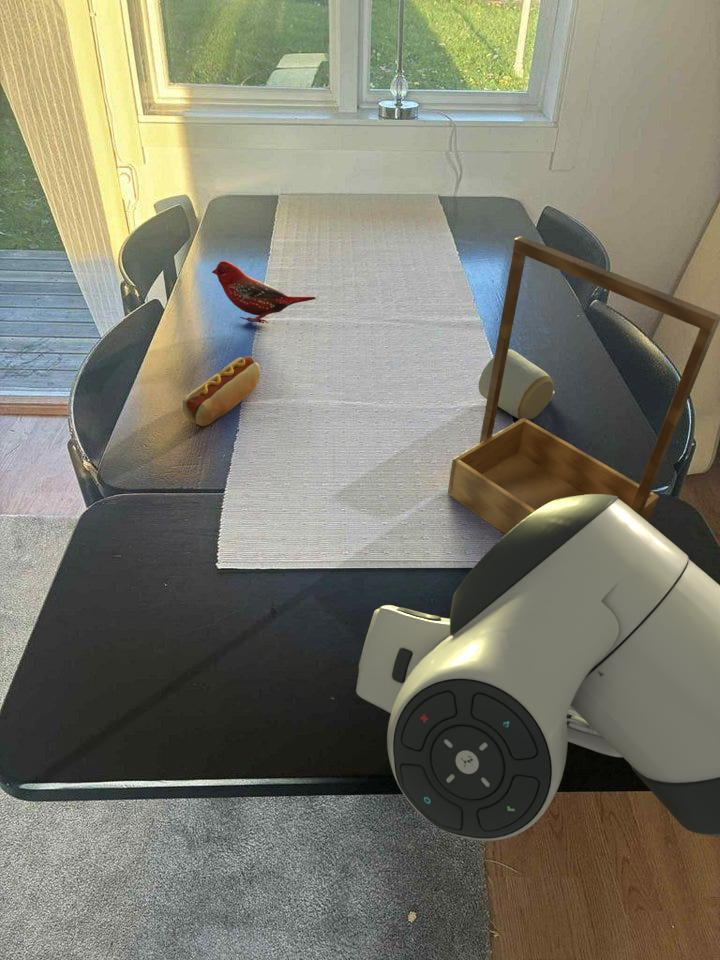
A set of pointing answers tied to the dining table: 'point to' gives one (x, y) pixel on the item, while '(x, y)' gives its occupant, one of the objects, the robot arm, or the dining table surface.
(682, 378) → the handle
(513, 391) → the ceramic mug
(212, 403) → the food
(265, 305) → the decorative bird figurine
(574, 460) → the light wood open box
